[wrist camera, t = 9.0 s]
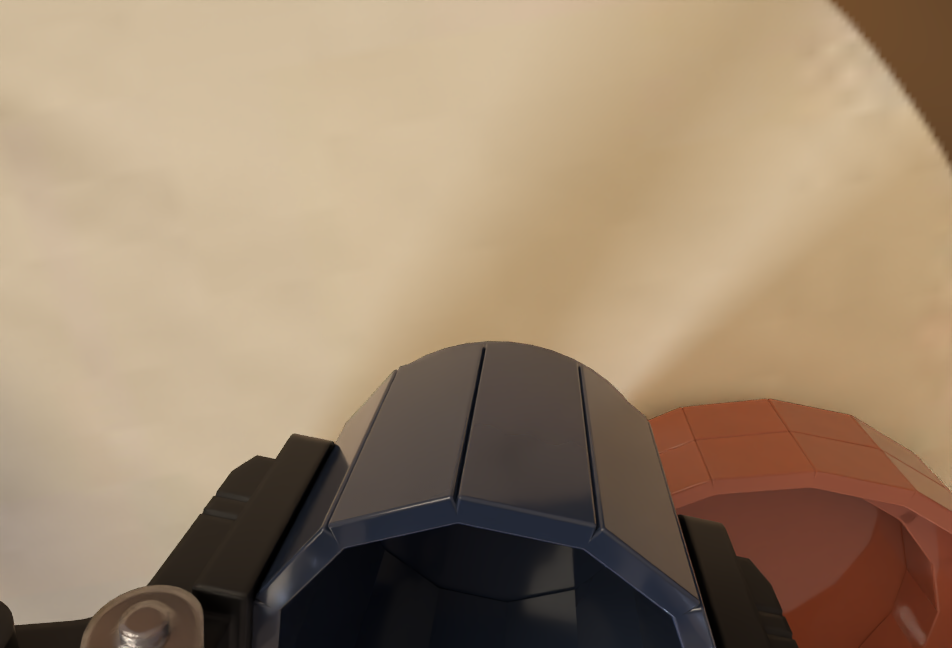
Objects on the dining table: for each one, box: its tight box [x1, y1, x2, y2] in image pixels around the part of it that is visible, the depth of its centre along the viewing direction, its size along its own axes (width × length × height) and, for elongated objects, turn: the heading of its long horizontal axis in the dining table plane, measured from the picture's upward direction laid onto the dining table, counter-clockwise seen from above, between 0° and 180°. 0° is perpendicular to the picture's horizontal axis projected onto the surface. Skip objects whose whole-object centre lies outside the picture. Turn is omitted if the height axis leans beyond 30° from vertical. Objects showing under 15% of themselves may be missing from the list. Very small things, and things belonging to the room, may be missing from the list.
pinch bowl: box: [251, 341, 717, 648], centre depth 10 cm, size 6×6×5 cm
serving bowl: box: [648, 399, 952, 648], centre depth 23 cm, size 16×16×5 cm
